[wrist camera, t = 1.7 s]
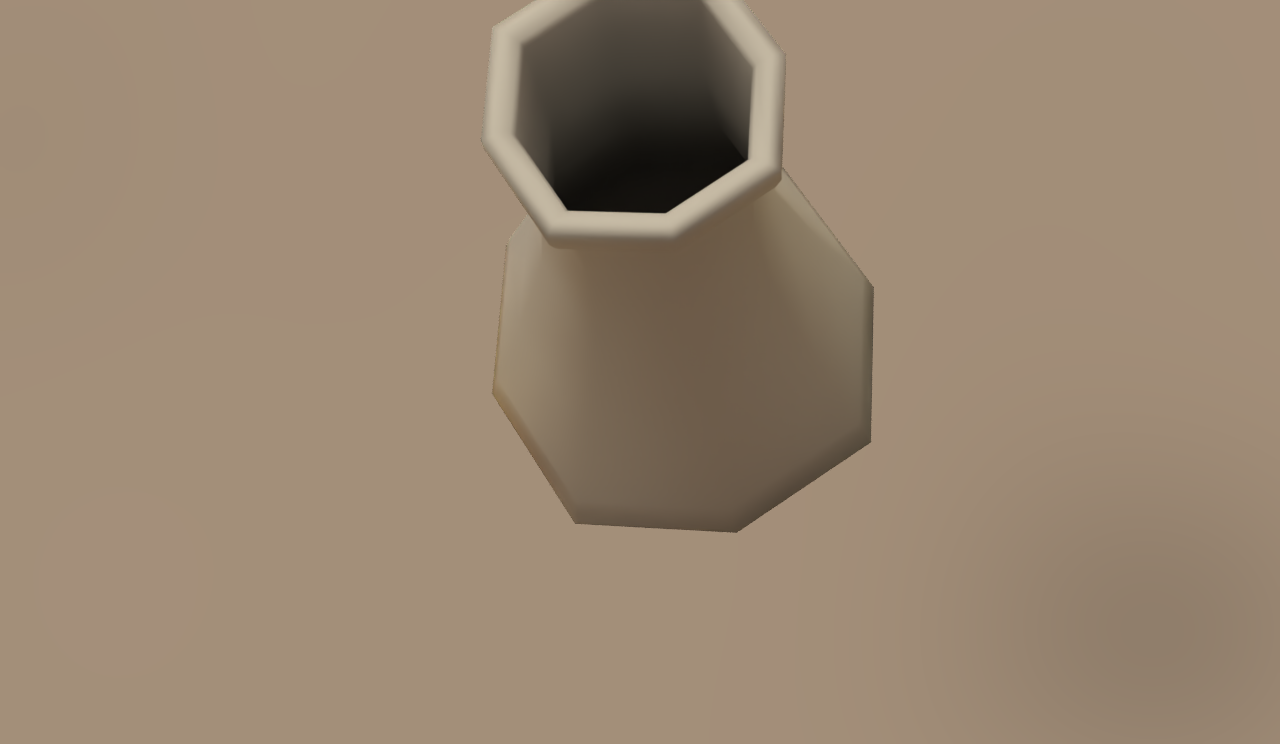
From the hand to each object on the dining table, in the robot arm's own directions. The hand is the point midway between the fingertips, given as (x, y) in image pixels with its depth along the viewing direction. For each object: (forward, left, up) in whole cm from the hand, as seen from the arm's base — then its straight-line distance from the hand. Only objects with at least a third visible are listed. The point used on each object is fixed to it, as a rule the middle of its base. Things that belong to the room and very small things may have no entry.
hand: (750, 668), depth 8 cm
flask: (+5, +3, -12) cm, 13 cm away
